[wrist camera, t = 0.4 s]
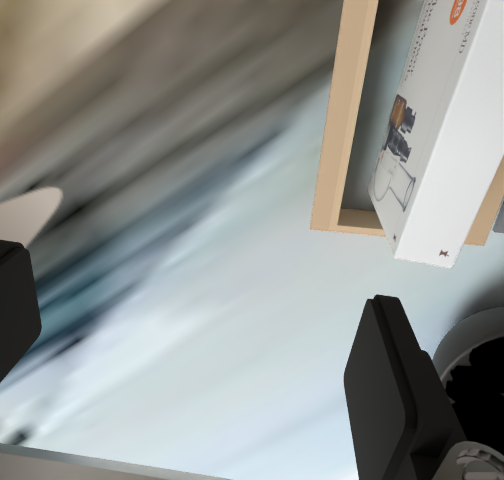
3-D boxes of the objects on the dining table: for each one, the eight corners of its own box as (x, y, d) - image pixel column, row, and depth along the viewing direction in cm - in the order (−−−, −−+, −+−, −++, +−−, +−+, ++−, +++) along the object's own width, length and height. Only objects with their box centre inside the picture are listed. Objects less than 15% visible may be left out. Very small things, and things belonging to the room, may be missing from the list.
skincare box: (423, -24, 36) (510, -61, 22) (482, -14, 36) (608, -46, 22) (361, 192, 46) (393, 261, 32) (407, 199, 46) (460, 272, 32)
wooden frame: (347, -64, 35) (355, -78, 30) (562, -51, 34) (603, -63, 30) (308, 211, 47) (310, 229, 43) (465, 225, 46) (484, 245, 42)
